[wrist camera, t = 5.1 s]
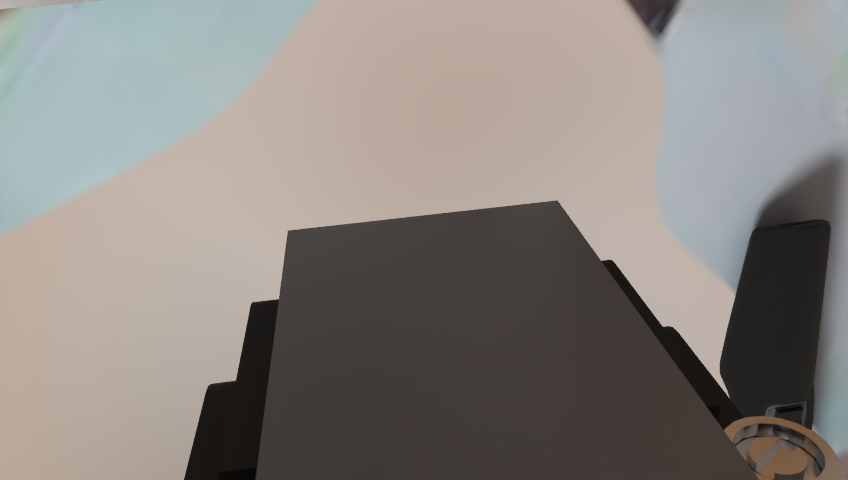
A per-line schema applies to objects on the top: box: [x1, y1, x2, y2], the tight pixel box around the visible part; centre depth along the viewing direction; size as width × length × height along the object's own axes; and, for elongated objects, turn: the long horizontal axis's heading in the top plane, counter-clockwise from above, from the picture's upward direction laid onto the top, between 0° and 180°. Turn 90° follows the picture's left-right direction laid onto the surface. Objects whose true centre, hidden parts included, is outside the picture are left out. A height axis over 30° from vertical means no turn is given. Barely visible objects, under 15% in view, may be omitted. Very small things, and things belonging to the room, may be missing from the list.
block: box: [256, 201, 759, 480], centre depth 10 cm, size 5×5×7 cm
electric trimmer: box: [720, 220, 831, 431], centre depth 28 cm, size 4×16×3 cm, turn 5°
